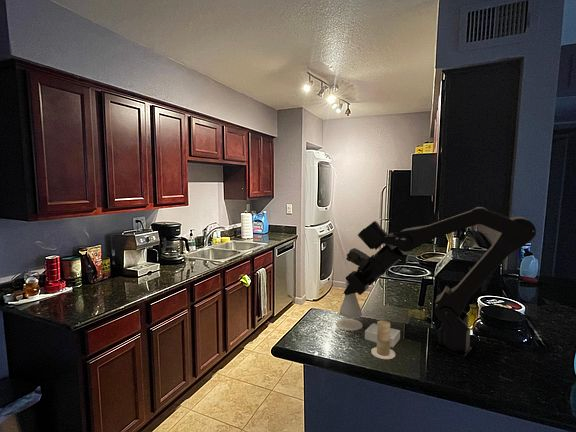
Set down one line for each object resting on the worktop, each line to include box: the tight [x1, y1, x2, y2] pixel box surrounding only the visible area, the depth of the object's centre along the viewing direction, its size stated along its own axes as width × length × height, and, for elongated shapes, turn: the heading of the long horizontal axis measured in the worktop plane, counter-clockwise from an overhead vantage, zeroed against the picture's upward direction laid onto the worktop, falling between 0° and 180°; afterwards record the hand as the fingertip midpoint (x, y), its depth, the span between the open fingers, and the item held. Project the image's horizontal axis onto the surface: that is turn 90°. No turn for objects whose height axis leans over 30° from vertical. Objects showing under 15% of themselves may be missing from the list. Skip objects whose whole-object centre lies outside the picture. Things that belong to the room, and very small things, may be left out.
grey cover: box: [364, 322, 401, 348], centre depth 87 cm, size 8×6×3 cm
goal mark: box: [336, 318, 363, 331], centre depth 97 cm, size 8×8×1 cm
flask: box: [339, 280, 363, 319], centre depth 96 cm, size 7×7×10 cm
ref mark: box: [370, 346, 396, 360], centre depth 80 cm, size 6×6×1 cm
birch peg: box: [376, 319, 391, 356], centre depth 80 cm, size 3×3×8 cm
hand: (346, 292), depth 97 cm, fingers closed on flask, 3 cm apart
